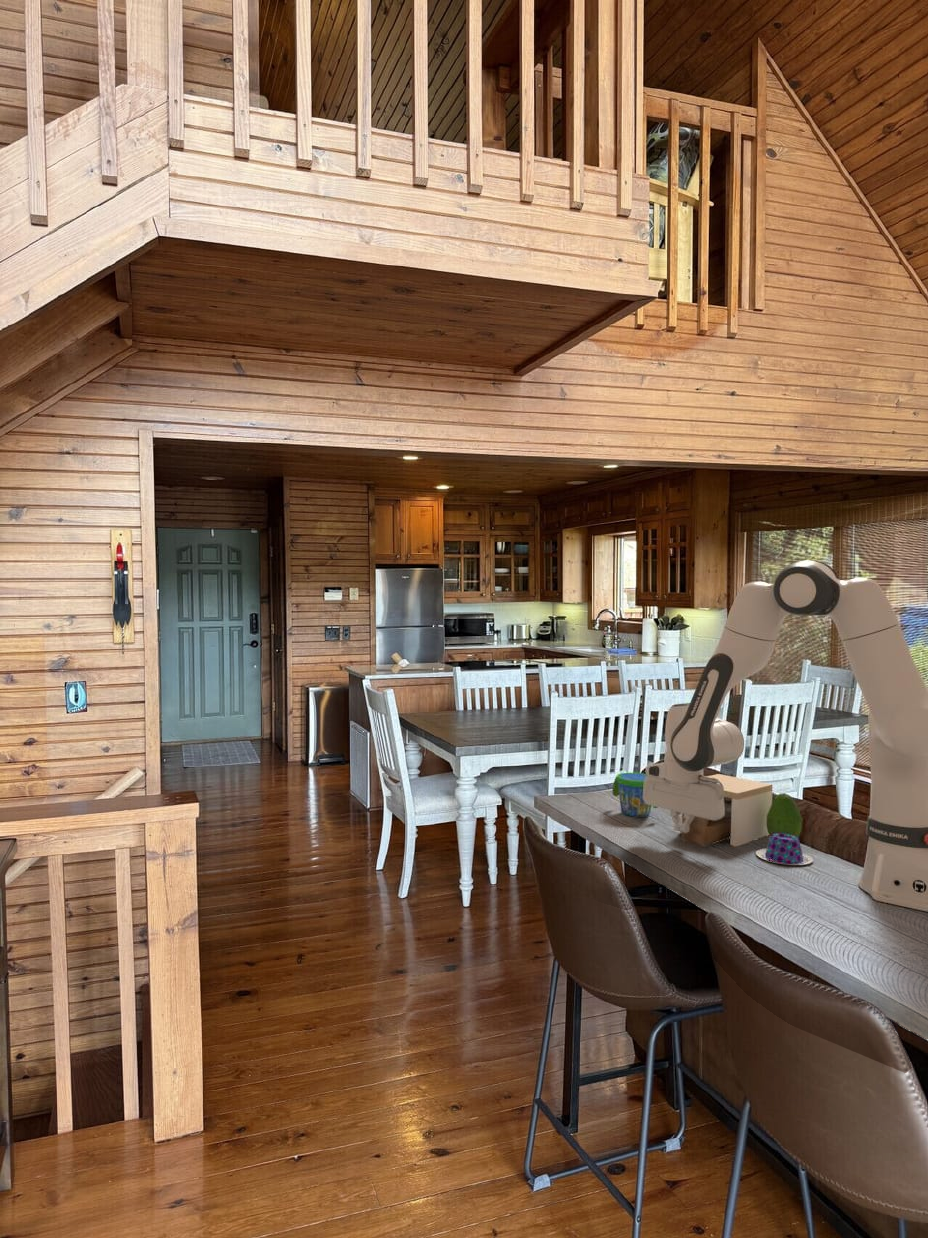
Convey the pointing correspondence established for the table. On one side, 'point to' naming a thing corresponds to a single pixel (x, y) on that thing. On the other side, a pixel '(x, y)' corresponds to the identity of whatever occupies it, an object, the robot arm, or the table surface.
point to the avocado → (784, 816)
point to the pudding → (784, 850)
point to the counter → (746, 807)
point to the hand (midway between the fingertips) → (681, 831)
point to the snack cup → (631, 794)
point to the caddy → (709, 828)
